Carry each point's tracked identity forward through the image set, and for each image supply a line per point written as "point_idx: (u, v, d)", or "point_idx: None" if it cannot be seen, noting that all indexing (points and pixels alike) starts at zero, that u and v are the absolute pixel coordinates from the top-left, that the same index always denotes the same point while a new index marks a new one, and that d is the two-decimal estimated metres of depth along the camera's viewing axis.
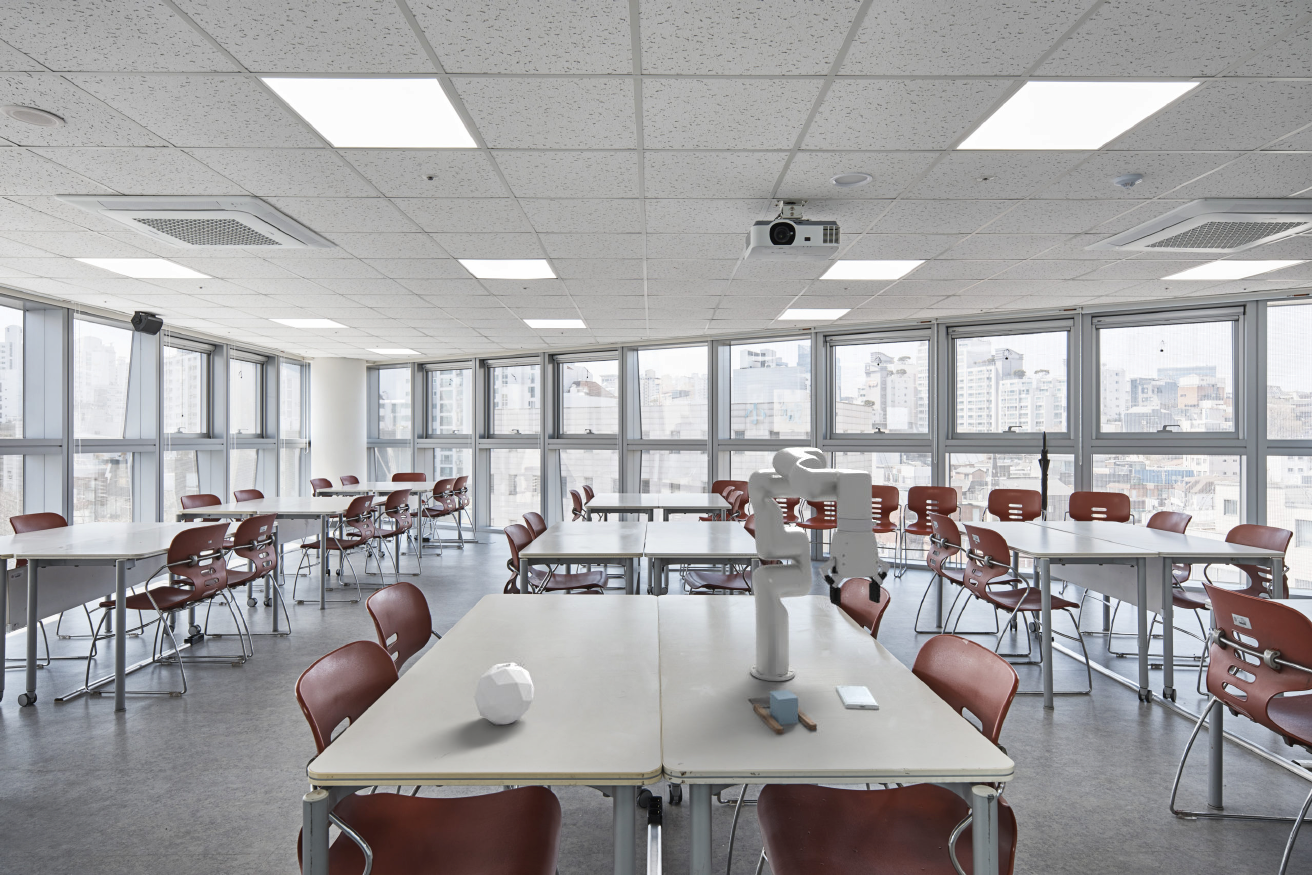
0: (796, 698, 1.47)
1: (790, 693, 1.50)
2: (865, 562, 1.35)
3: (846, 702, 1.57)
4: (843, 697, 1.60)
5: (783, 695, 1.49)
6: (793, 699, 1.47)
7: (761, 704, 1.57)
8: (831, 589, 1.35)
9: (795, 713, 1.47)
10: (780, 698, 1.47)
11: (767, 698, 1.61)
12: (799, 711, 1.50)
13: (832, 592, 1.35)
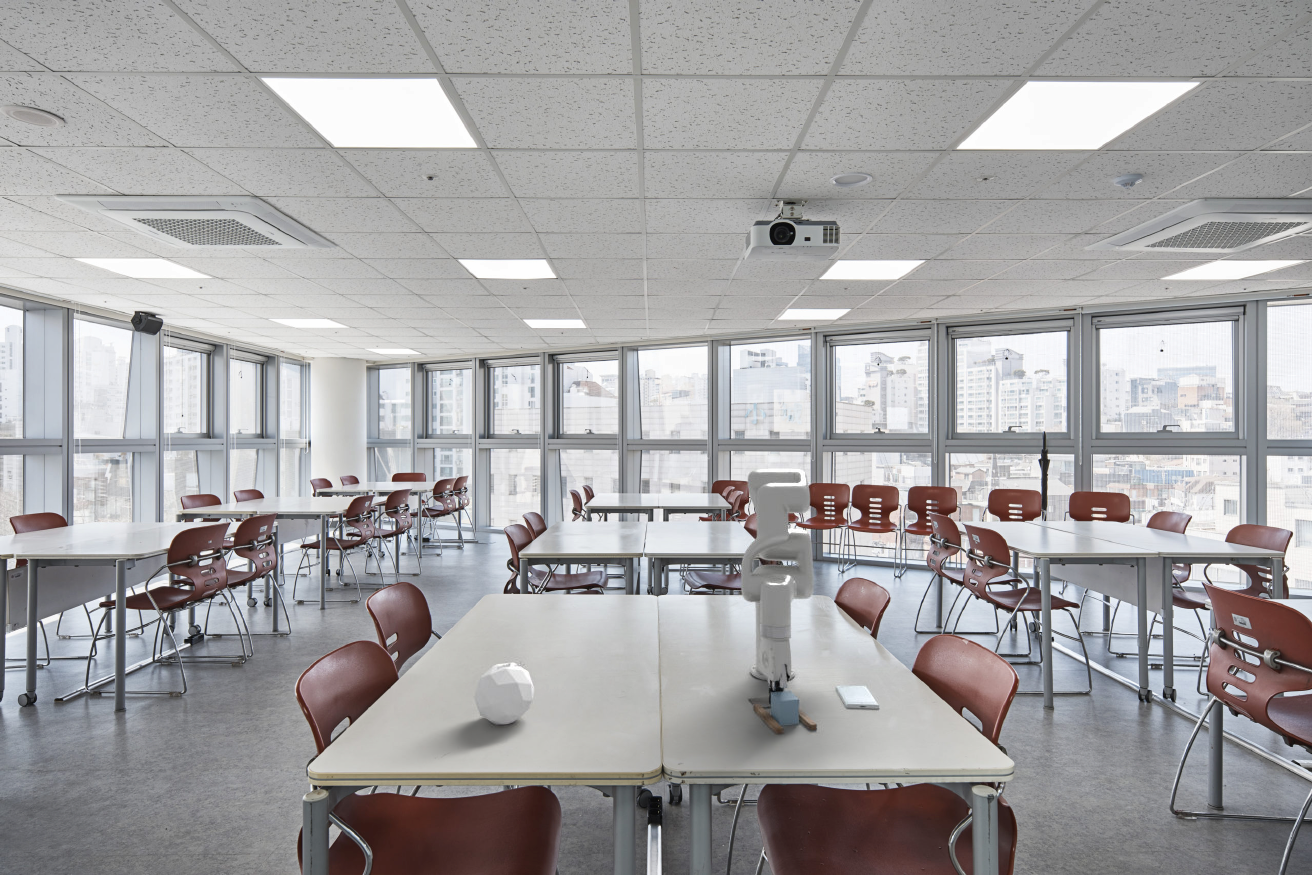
0: (797, 700, 1.46)
1: (791, 694, 1.49)
2: None
3: (846, 702, 1.57)
4: (843, 697, 1.60)
5: (784, 696, 1.48)
6: (794, 701, 1.46)
7: (761, 704, 1.57)
8: None
9: (795, 714, 1.46)
10: (781, 700, 1.46)
11: (767, 698, 1.61)
12: (799, 711, 1.50)
13: None
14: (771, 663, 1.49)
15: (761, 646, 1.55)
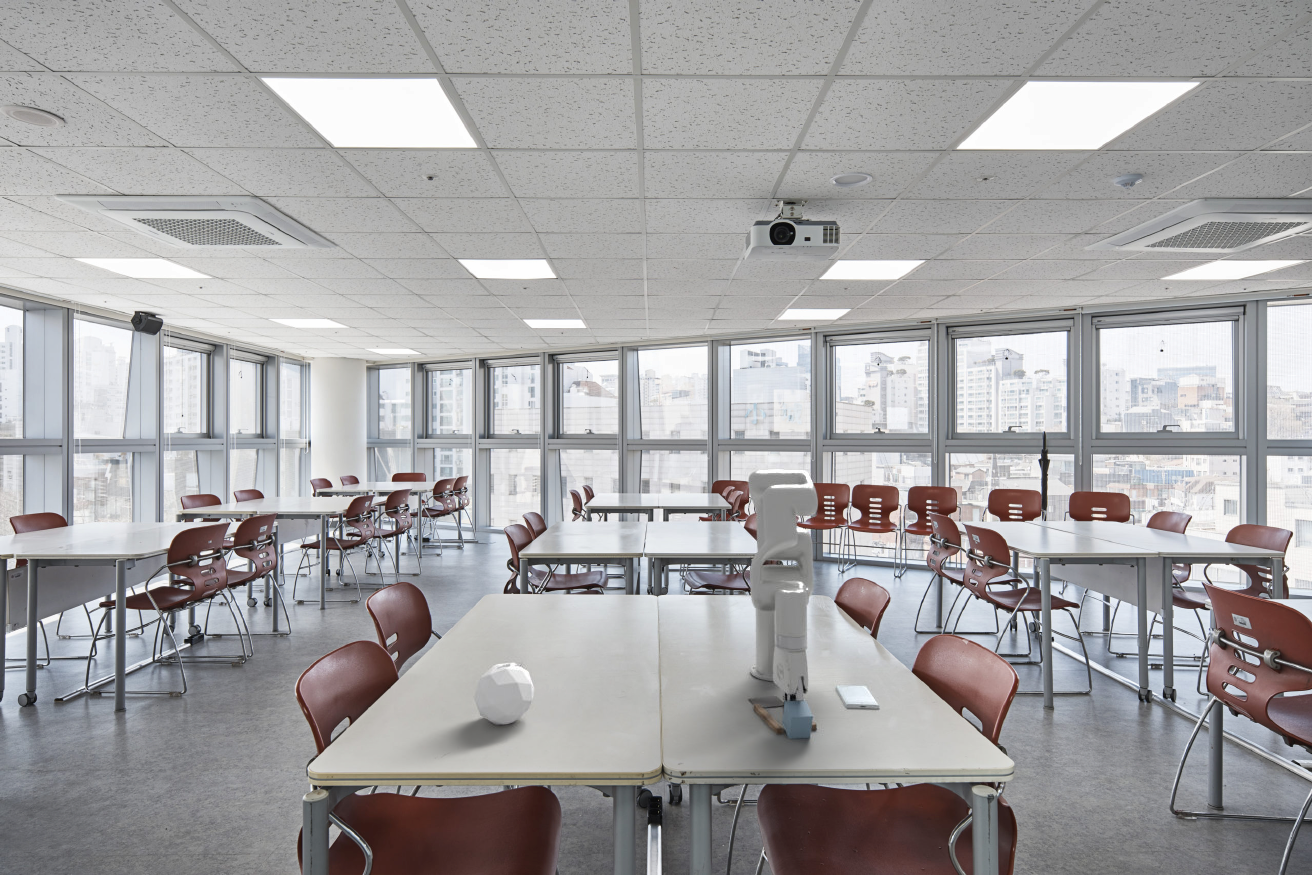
0: (811, 716, 1.37)
1: (806, 707, 1.40)
2: None
3: (846, 702, 1.57)
4: (843, 697, 1.60)
5: (797, 709, 1.39)
6: (808, 717, 1.37)
7: (761, 704, 1.57)
8: None
9: (808, 729, 1.38)
10: (794, 715, 1.37)
11: (767, 698, 1.61)
12: None
13: None
14: (787, 675, 1.41)
15: (775, 657, 1.47)
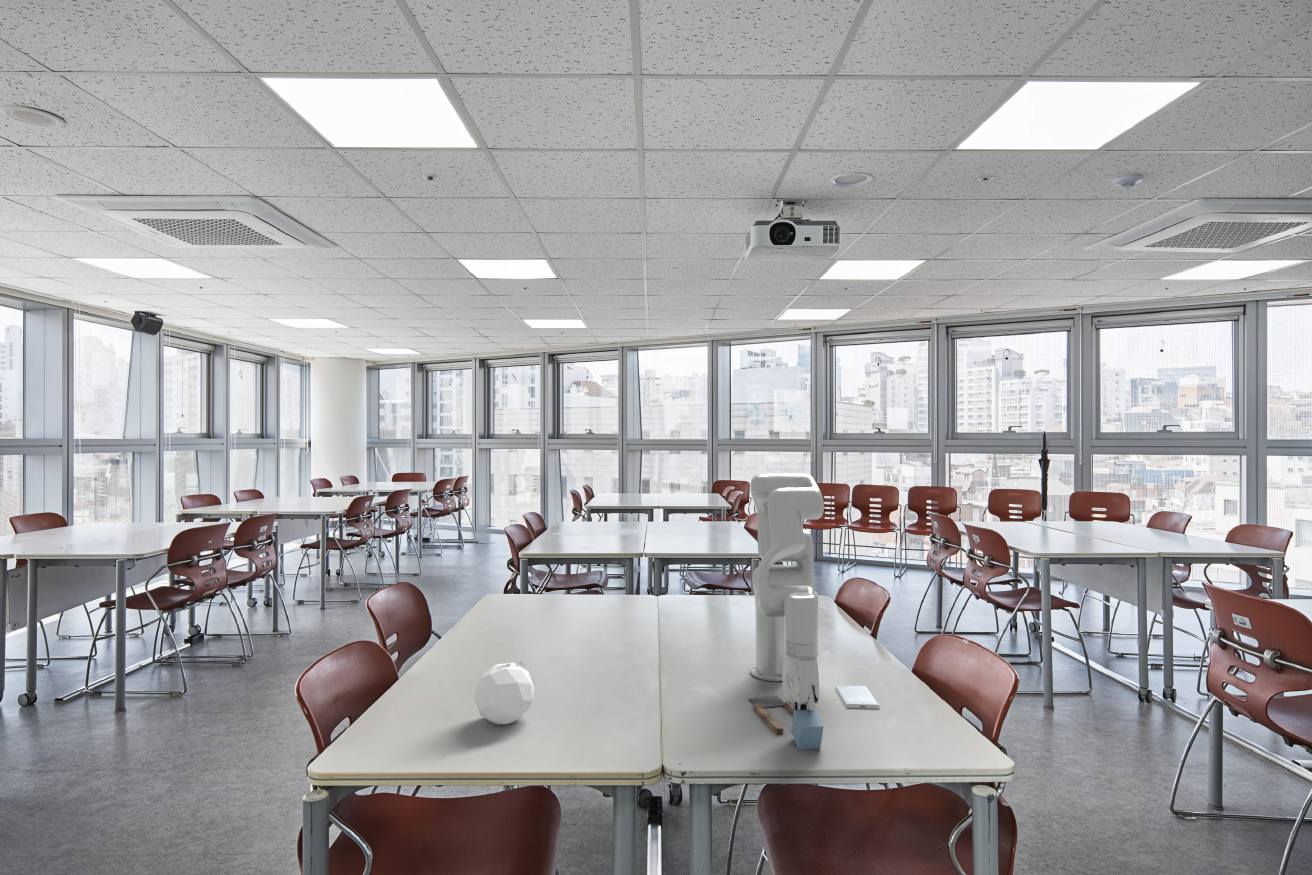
0: (821, 727, 1.32)
1: (816, 717, 1.35)
2: None
3: (847, 702, 1.57)
4: (843, 697, 1.60)
5: (807, 719, 1.34)
6: (818, 728, 1.32)
7: (761, 704, 1.57)
8: None
9: (818, 739, 1.33)
10: (803, 726, 1.32)
11: (767, 698, 1.61)
12: None
13: None
14: (797, 684, 1.36)
15: (785, 665, 1.42)
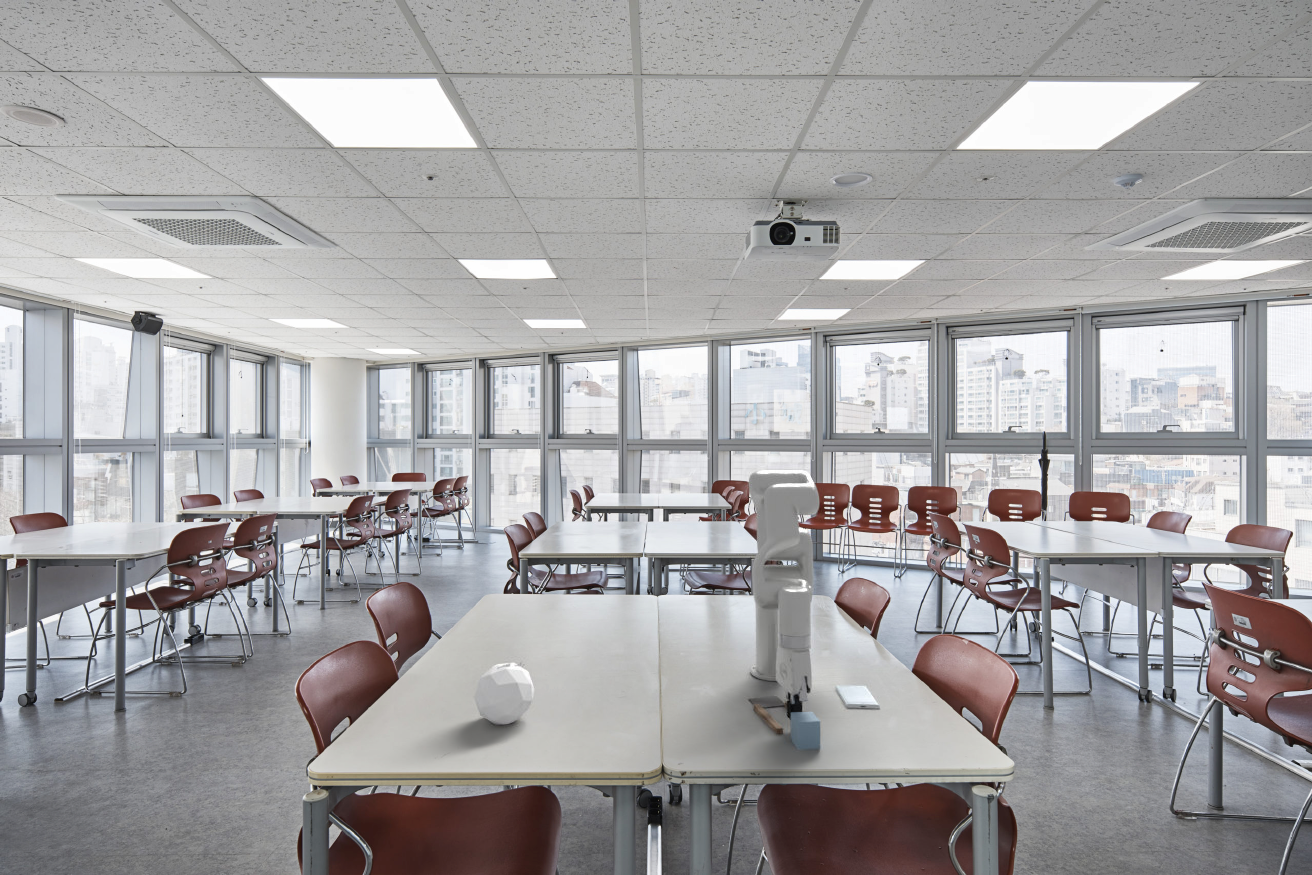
0: (818, 722, 1.34)
1: (813, 716, 1.37)
2: None
3: (847, 702, 1.57)
4: (843, 697, 1.60)
5: (804, 717, 1.36)
6: (815, 723, 1.34)
7: (761, 704, 1.57)
8: (797, 706, 1.42)
9: (817, 738, 1.34)
10: (800, 721, 1.34)
11: (767, 698, 1.61)
12: None
13: (799, 708, 1.42)
14: (790, 675, 1.40)
15: (778, 656, 1.46)
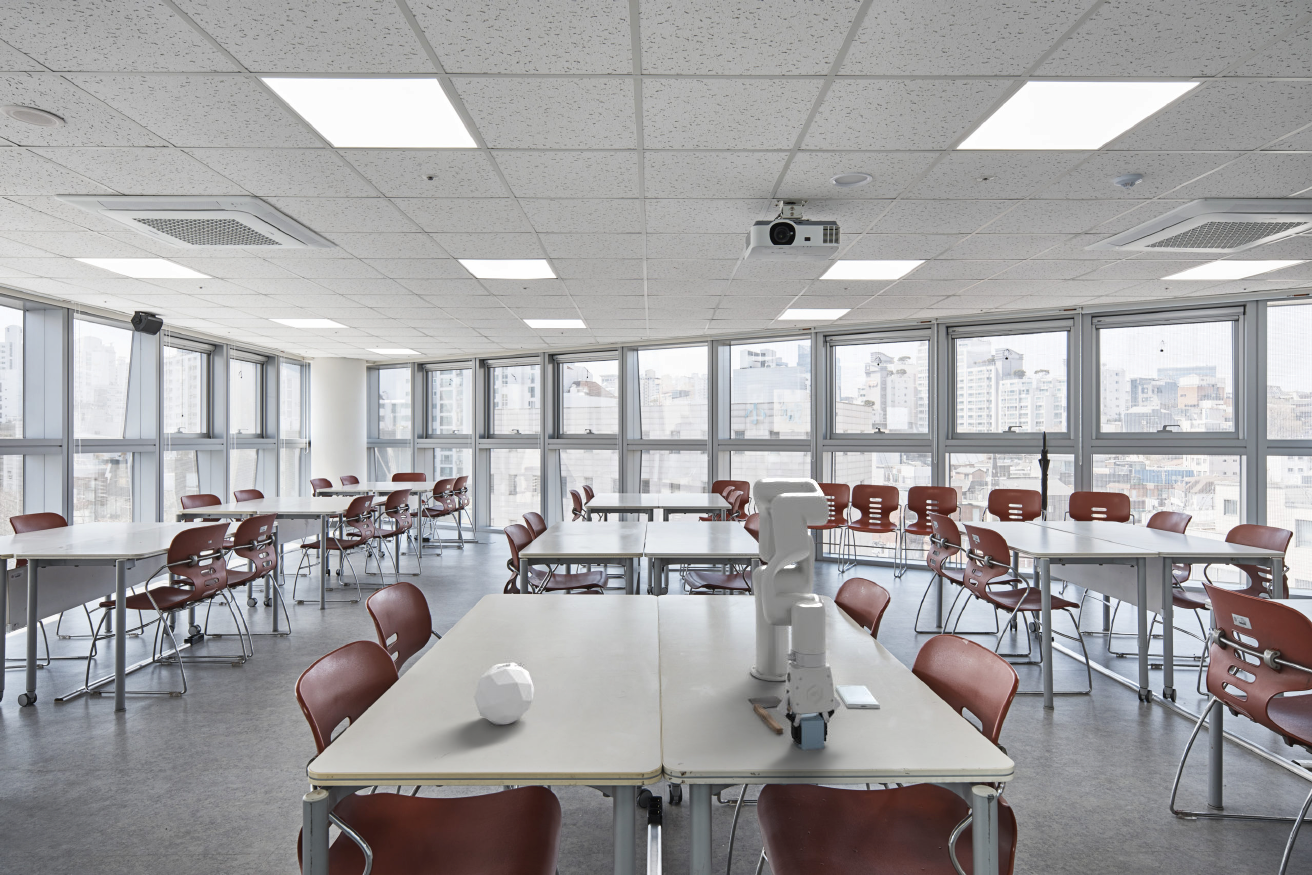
0: (822, 721, 1.34)
1: (816, 715, 1.37)
2: None
3: (847, 702, 1.57)
4: (844, 697, 1.60)
5: (807, 716, 1.36)
6: (819, 722, 1.34)
7: (761, 704, 1.57)
8: None
9: (820, 737, 1.34)
10: (804, 720, 1.34)
11: (767, 698, 1.61)
12: None
13: None
14: (829, 691, 1.35)
15: (803, 684, 1.33)
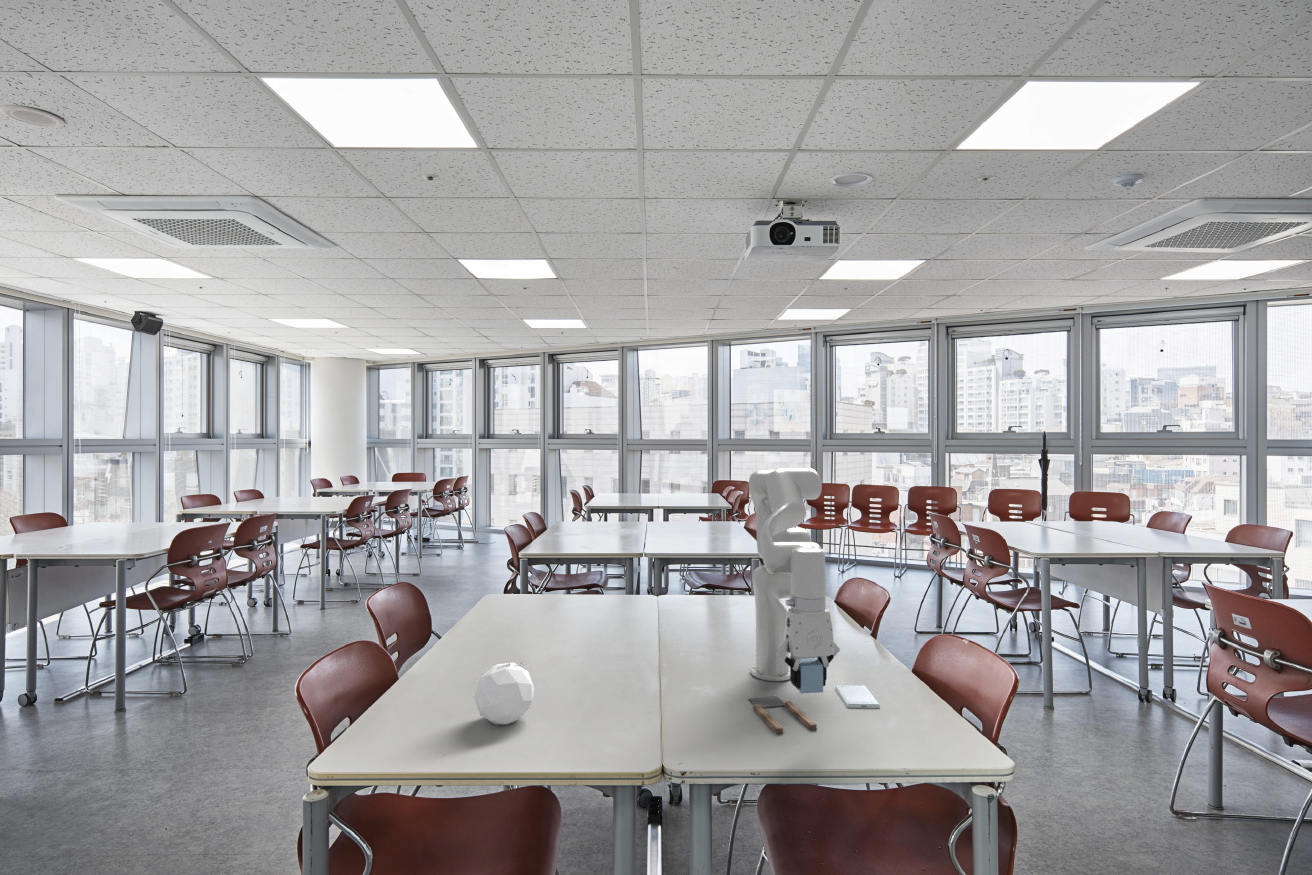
0: (821, 665, 1.35)
1: (815, 660, 1.38)
2: None
3: (847, 702, 1.57)
4: (844, 697, 1.60)
5: (807, 662, 1.37)
6: (818, 667, 1.35)
7: (761, 704, 1.57)
8: None
9: (819, 681, 1.35)
10: (803, 665, 1.35)
11: (767, 698, 1.61)
12: (799, 711, 1.50)
13: None
14: (828, 636, 1.35)
15: (802, 628, 1.34)
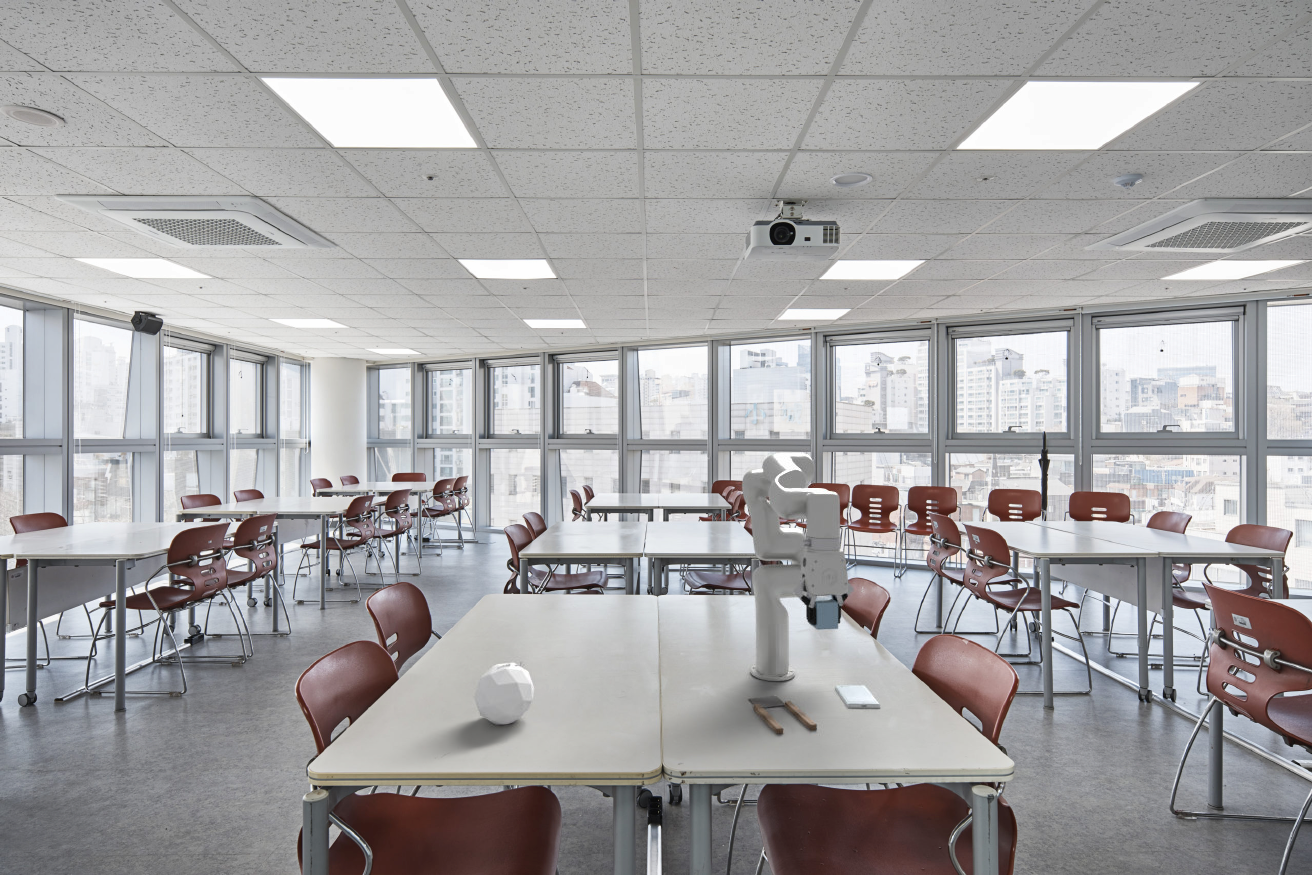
0: (836, 603, 1.40)
1: (830, 599, 1.43)
2: None
3: (848, 701, 1.57)
4: (844, 696, 1.60)
5: (822, 600, 1.42)
6: (833, 604, 1.40)
7: (761, 704, 1.57)
8: None
9: (835, 618, 1.40)
10: (819, 602, 1.40)
11: (767, 698, 1.61)
12: (799, 711, 1.50)
13: None
14: (842, 575, 1.41)
15: (818, 566, 1.39)
